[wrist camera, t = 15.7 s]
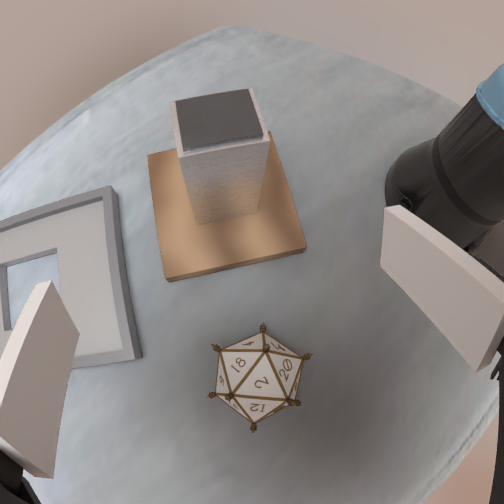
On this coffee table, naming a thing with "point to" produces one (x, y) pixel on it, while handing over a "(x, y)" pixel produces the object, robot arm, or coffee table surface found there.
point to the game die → (258, 376)
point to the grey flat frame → (78, 271)
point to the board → (221, 223)
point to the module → (221, 153)
